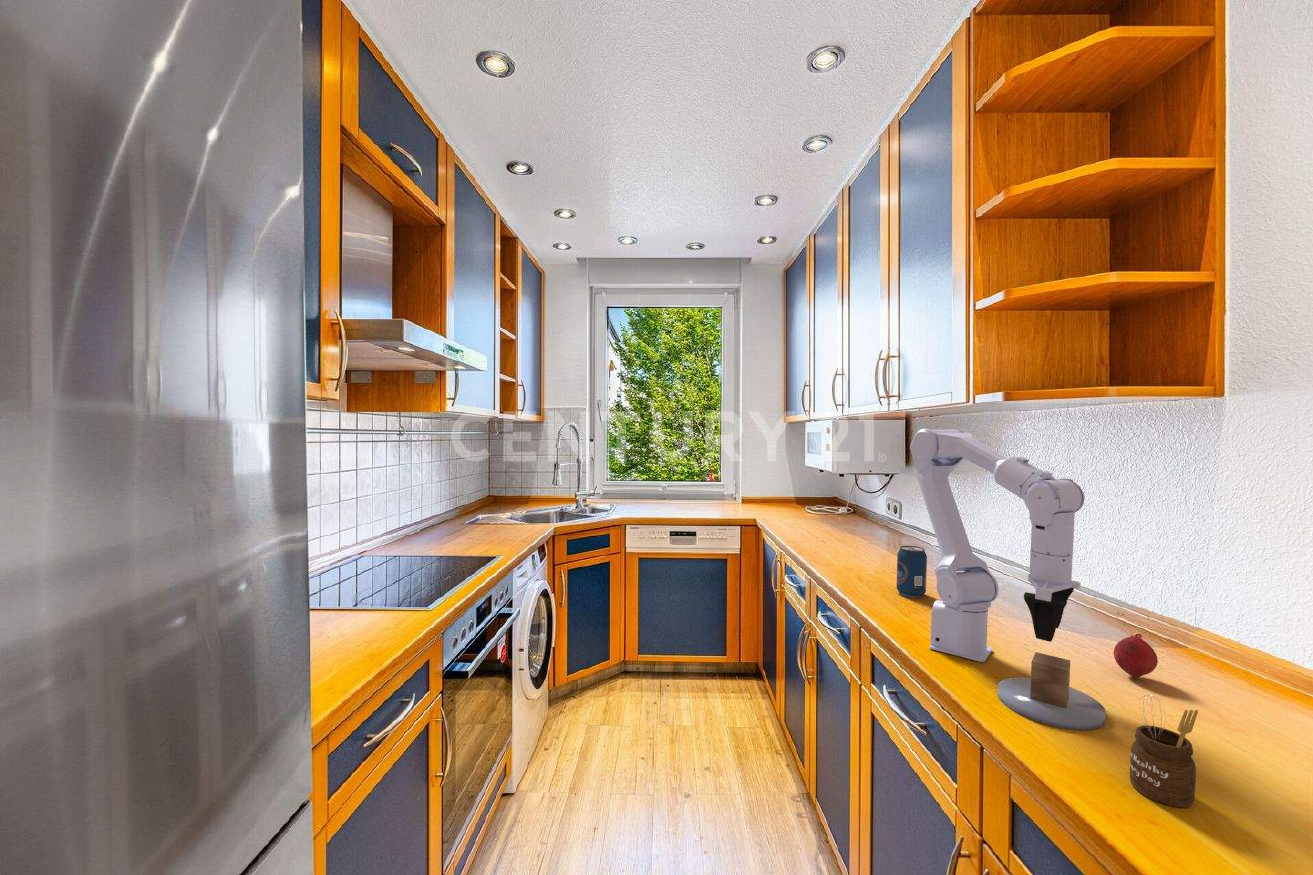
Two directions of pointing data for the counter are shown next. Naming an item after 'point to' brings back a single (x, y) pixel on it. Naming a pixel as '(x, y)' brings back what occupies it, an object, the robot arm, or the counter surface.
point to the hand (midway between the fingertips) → (1047, 632)
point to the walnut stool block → (1050, 679)
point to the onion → (1135, 656)
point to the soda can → (911, 571)
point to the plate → (1052, 706)
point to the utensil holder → (1164, 762)
